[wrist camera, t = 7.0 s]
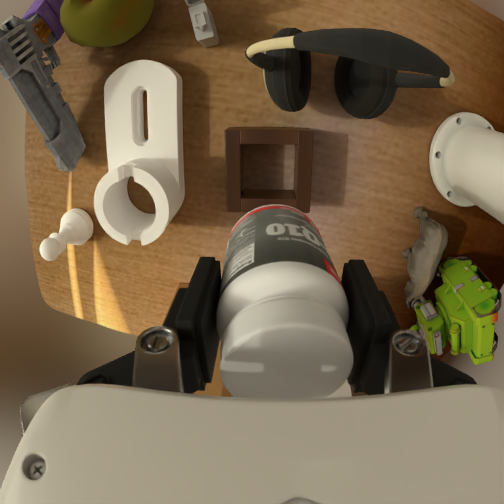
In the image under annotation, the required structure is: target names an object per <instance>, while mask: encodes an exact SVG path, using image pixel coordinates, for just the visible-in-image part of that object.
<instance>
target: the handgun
mask: <svg viewBox="0 0 504 504" xmlns="http://www.w3.org/2000/svg"><path fill="white" fill-rule="evenodd" d="M63 1H64V0H35V1H34V2H33V4H32V5H31V7H30V8H29V10H28V11H27V12H26V14H25V15H24V17H23V18H22V19H20V18H18V17H16V16H14V15H12V16H11V17H9V18H8V19H7V20H5V21H4V22H3V23H2V28H3V29H4V31H3V30H1V29H0V72H1V74H2V75H3V77H4V79H5V80H6V81H7V80H9V81H10V83H11V85H12V86H13V88H14V90H15V91H16V93H17V95H18V96H19V98H20V100H21V101H22V103H23V105H24V106H25V108H26V110H27V111H28V113H29V114H30V116H31V117H32V119H33V121H34V122H35V124H36V125H37V127H38V128H39V130H40V131H41V133H42V134H43V136H44V137H45V139H46V140H45V144H46V145H47V147H48V148H49V150H50V151H51V152H52V154H53V155H54V156H55V161H56V165H57V169H61V171H65V172H70V171H73V170H74V169H75V168H76V165H77V162H78V160H79V159H80V157H81V156H82V154H83V152H84V150H85V148H86V145H85V143H84V141H83V137H82V135H81V133H80V130H79V128H78V126H77V123H76V121H75V119H74V116H73V114H72V112H71V110H70V107H69V105H68V103H67V102H66V103H65V102H64V100H63V98H62V96H61V94H60V92H61V91H62V90H61V88H60V86H59V84H58V82H56V83H54V81H53V79H52V77H51V75H52V74H53V73H52V70H53V69H54V68H56V67H57V66H58V65H60V58H59V56H58V54H57V53H56V51H55V49H54V47H53V45H54V44H55V43H56V42H57V41H58V40H59V39H60V37H61V36H62V34H63V33H64V29H63V27H62V25H61V23H60V8H61V6H62V4H63ZM43 50H44V52H45V53H46V55H47V56H48V57H45V58H43V59H42V58H41V57H42V56H43V53H42V51H43ZM48 59H50V61H51V63H49V64H48V65H46V66H45V64H44V62H43V61H46V60H48Z"/></svg>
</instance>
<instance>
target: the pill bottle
mask: <svg viewBox="0 0 504 504" xmlns="http://www.w3.org/2000/svg"><path fill="white" fill-rule="evenodd" d="M348 321H349V306H348V301H347V297H346V294H345V291H344V289H343V287H342V284H341V282H340V279H339V277H338V275H337V272H336V270H335V268H334V265H333V263H332V261H331V258H330V256H329V254H328V252H327V249H326V247H325V245H324V242H323V240H322V238H321V235H320V233H319V231H318V229H317V227H316V226H315V224H314V223H313V221H312V220H311V219H310V218H309V217H308V216H307V215H306V214H304V213H303V212H301V211H300V210H298V209H296V208H294V207H291V206H287V205H281V204H271V205H265V206H261V207H258V208H256V209H253V210H252V211H250V212H248V213H247V214H246V215H244V216H243V217H242V218H241V219H240V220H239V221H238V222H237V223H236V224H235V226H234V228H233V229H232V231H231V234H230V236H229V240H228V245H227V250H226V257H225V262H224V269H223V274H222V280H221V286H220V293H219V298H218V303H217V310H216V326H217V331H218V335H219V337H220V339H221V345H220V351H221V356H220V377H221V380H222V383H223V384H224V386H225V388H226V389H227V390H228V391H229V392H230V393H231V394H232V395H233V396H234V397H240V398H269V399H308V398H326V397H328V396H330V395H331V394H333V393H334V392H335V391H336V390H338V389H339V388H340V387H341V386H342V385H343V384H344V383H345V381H346V380H347V378H348V376H349V375H350V373H351V370H352V367H353V352H352V348H351V344H350V341H349V338H348V335H347V332H346V329H347V325H348Z"/></svg>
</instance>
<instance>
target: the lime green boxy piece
mask: <svg viewBox="0 0 504 504" xmlns="http://www.w3.org/2000/svg"><path fill="white" fill-rule="evenodd" d="M437 276H438V277H440V276H441V277H442V279H443V285H442V286H440V287H439V288H437V289H436V290H434V291H435V297H436V303H434V305H433V303H432V301H431V300H427V301H426V304H423V303H422V302H421V300H420V299H414V300H413V301H412V304H411V306H412V307H413V309H414V310H415V312H416V314H417V319H418V324H419V325H413V326H412V327H411V328H410V329H409V330H413V331H415V332H417V333H419V334H421V335H423V337H424V338H425V339H426V341H427V343H428V348H429V350H430V352H431V354H435V353H436V354H437V355H441V354H443V348H444V347H445V345H446V340H449V342H450V343H451V345H452V347H451V353H452V354H453V355H458V354H459V352H462V353H464V354H465V353H467V352H468V354H469V355H470V357H471V359H472V361H473V363H474V364H477V365H478V364H481V363H485V362H488V361H492V360H493V357H494V354H493V353H494V351H495V350H496V348H497V343H498V336H497V334H496V333H495V331H494V328H495V327H494V326H495V322H496V321H497V320H498V313H497V312H498V310H499V309H500V307H501V293H500V291H499V290H498V289H497V288H496V287H495V285H494V284H493V283H492V282H491V281H490V280H489V279H488V277H487V276H486V275H485V274H484V273H483V272H482V271H481V270H480V269H479V267H478V266H477V265H476V264H475V263H474V262H473V261H472V260H471V259H470V258H469V257H466V256H461V257H454V258H452V257H451V256H450V257H449V258H448V259H446V260H445V261H444V262H443V263H441V264H440V266H439V272H437ZM479 278H481V279H482V280H483V282H484V283H483V282H482V281H481V280H480V279H479ZM497 299H498V300H499V302H498V304H497V305H496V307H495V304H496V302H497ZM494 340H495V341H496V344H495V345H494V347H493V343H494Z"/></svg>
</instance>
